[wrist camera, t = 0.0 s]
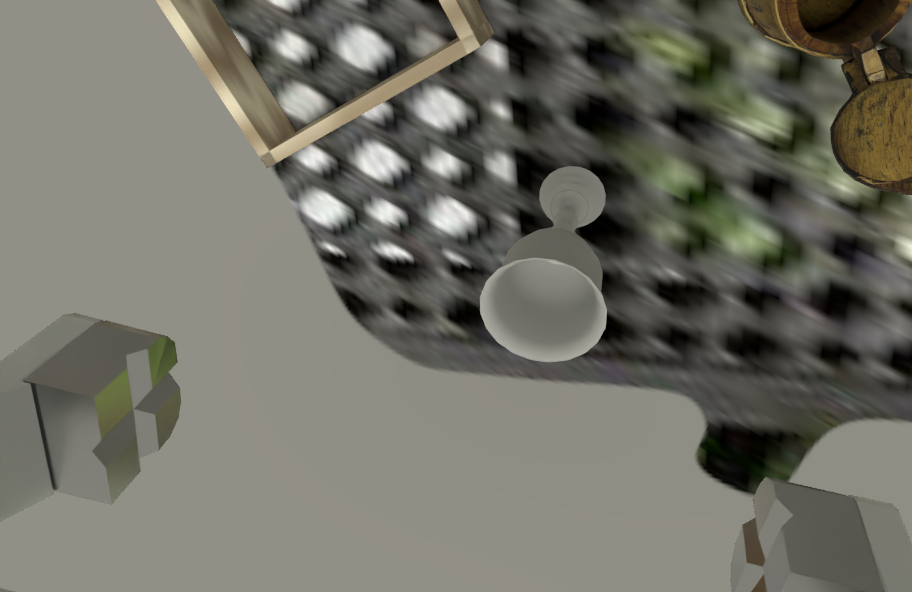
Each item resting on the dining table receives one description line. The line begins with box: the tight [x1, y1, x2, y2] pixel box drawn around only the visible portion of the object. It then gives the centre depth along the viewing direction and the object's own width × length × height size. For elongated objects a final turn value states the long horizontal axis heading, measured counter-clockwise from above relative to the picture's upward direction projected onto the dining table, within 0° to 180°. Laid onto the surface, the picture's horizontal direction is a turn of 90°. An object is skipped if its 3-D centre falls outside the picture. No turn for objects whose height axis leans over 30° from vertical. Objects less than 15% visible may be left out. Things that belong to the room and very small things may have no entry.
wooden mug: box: [737, 0, 912, 195], centre depth 42 cm, size 9×14×18 cm, turn 26°
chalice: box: [480, 166, 607, 362], centre depth 51 cm, size 7×7×18 cm
